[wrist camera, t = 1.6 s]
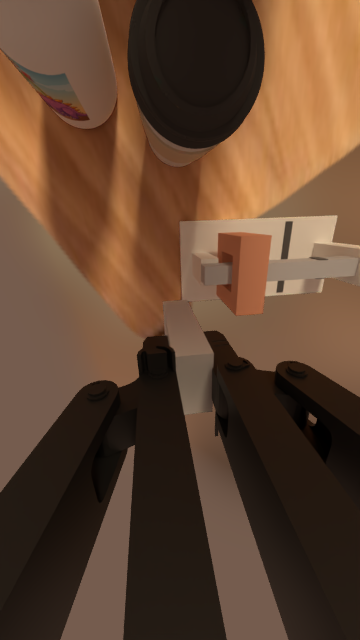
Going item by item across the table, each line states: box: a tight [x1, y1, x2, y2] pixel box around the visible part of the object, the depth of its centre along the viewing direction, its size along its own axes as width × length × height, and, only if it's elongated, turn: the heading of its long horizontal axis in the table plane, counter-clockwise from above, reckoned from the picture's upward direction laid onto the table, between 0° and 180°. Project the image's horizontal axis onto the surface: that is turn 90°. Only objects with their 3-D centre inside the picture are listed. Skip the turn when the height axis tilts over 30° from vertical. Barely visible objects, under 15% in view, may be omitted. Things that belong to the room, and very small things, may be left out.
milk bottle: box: [0, 0, 117, 129], centre depth 16 cm, size 8×8×20 cm
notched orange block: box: [216, 232, 272, 316], centre depth 27 cm, size 8×3×8 cm, turn 2°
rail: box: [179, 216, 360, 302], centre depth 30 cm, size 11×22×10 cm, turn 92°
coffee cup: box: [128, 0, 265, 167], centre depth 20 cm, size 9×9×15 cm
